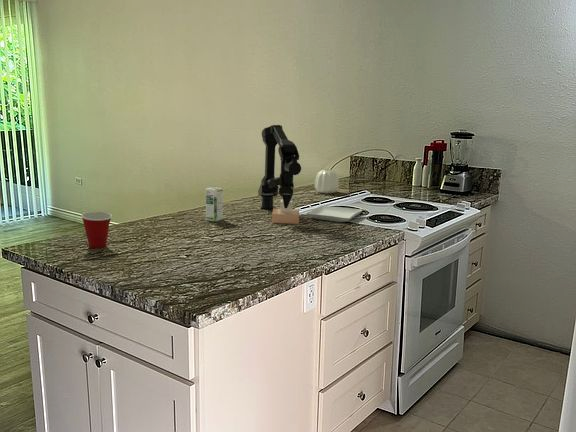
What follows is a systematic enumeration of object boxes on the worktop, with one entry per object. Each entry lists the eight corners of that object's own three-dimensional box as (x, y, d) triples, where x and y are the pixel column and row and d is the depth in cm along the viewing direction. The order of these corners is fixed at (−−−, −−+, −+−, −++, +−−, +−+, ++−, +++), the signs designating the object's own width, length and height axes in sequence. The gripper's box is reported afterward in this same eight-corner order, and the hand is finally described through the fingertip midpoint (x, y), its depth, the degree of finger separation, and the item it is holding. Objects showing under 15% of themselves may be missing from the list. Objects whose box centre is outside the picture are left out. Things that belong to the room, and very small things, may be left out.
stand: (273, 216, 266) (273, 208, 265) (299, 217, 266) (299, 209, 265) (271, 222, 255) (272, 214, 254) (298, 223, 254) (299, 214, 253)
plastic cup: (98, 252, 203) (97, 218, 200) (75, 247, 208) (74, 215, 205) (119, 245, 213) (118, 213, 210) (97, 241, 217) (96, 210, 215)
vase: (339, 195, 327) (340, 171, 324) (314, 194, 327) (315, 171, 324) (337, 190, 341) (338, 168, 338) (313, 190, 341) (314, 167, 338)
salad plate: (304, 219, 264) (305, 212, 263) (321, 211, 283) (321, 204, 282) (348, 225, 256) (349, 217, 255) (362, 216, 275) (363, 209, 274)
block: (280, 210, 262) (280, 199, 261) (291, 210, 262) (291, 199, 261) (280, 212, 257) (280, 201, 256) (291, 212, 257) (291, 202, 256)
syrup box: (205, 220, 256) (204, 188, 253) (212, 217, 261) (212, 186, 258) (215, 222, 253) (215, 189, 250) (223, 219, 258) (223, 187, 255)
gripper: (270, 168, 265) (269, 201, 268) (267, 174, 247) (266, 209, 250) (294, 169, 265) (293, 202, 268) (293, 175, 246) (292, 210, 250)
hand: (286, 206), depth 259 cm, fingers open, 9 cm apart
